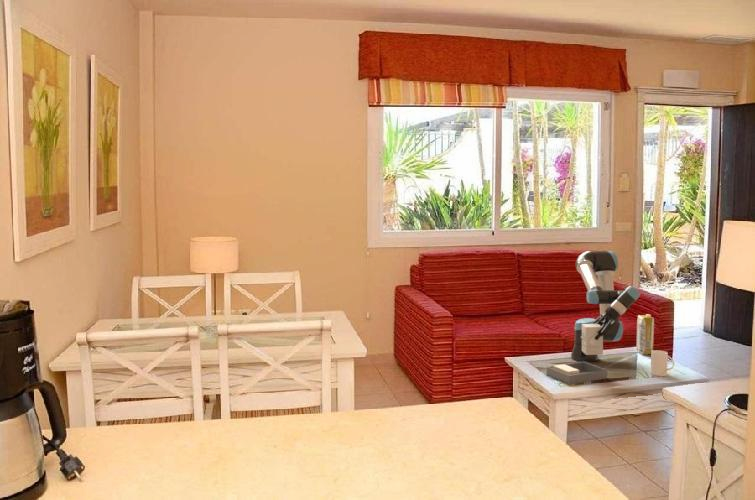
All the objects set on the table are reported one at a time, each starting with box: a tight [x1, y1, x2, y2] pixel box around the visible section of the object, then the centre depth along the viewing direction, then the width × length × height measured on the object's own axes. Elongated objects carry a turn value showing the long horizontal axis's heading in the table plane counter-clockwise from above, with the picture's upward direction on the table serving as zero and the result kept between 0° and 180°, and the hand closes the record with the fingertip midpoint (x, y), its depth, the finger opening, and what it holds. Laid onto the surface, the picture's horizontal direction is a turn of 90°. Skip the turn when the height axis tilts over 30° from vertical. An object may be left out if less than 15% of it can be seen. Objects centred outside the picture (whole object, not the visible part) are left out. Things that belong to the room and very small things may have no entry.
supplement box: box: [582, 324, 604, 356], centre depth 335 cm, size 9×9×15 cm
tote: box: [546, 361, 608, 385], centre depth 334 cm, size 18×25×5 cm
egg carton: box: [552, 363, 579, 375], centre depth 331 cm, size 12×7×6 cm, turn 23°
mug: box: [649, 349, 675, 377], centre depth 338 cm, size 12×8×12 cm
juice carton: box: [635, 313, 655, 356], centre depth 380 cm, size 9×8×24 cm
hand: (586, 341), depth 335 cm, fingers closed on supplement box, 9 cm apart
